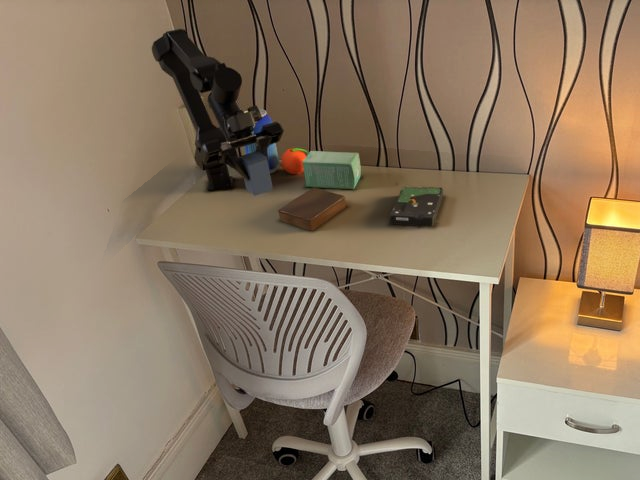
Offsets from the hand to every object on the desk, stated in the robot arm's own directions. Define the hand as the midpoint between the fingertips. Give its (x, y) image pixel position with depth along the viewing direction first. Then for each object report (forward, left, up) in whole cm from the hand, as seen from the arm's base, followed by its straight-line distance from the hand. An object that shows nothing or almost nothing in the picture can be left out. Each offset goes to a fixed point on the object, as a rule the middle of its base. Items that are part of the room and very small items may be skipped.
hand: (258, 176), depth 139 cm
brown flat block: (-4, +11, -13) cm, 18 cm away
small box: (-1, -1, -4) cm, 4 cm away
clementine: (-28, +8, -14) cm, 33 cm away
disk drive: (+2, +35, -14) cm, 38 cm away
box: (-19, +17, -14) cm, 29 cm away
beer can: (-33, -1, -14) cm, 36 cm away
